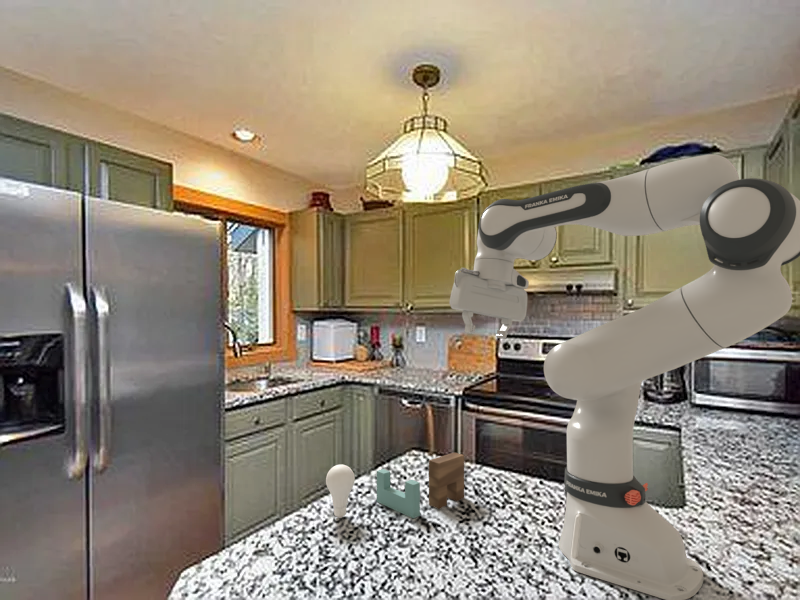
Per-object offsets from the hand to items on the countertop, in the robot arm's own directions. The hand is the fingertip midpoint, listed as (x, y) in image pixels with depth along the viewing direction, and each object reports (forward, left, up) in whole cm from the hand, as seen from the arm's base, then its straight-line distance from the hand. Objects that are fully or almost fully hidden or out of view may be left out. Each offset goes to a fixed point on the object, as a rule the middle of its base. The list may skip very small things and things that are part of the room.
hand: (485, 335), depth 101 cm
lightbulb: (+19, +26, -39) cm, 50 cm away
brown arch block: (+9, +3, -38) cm, 40 cm away
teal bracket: (+14, +14, -38) cm, 43 cm away
